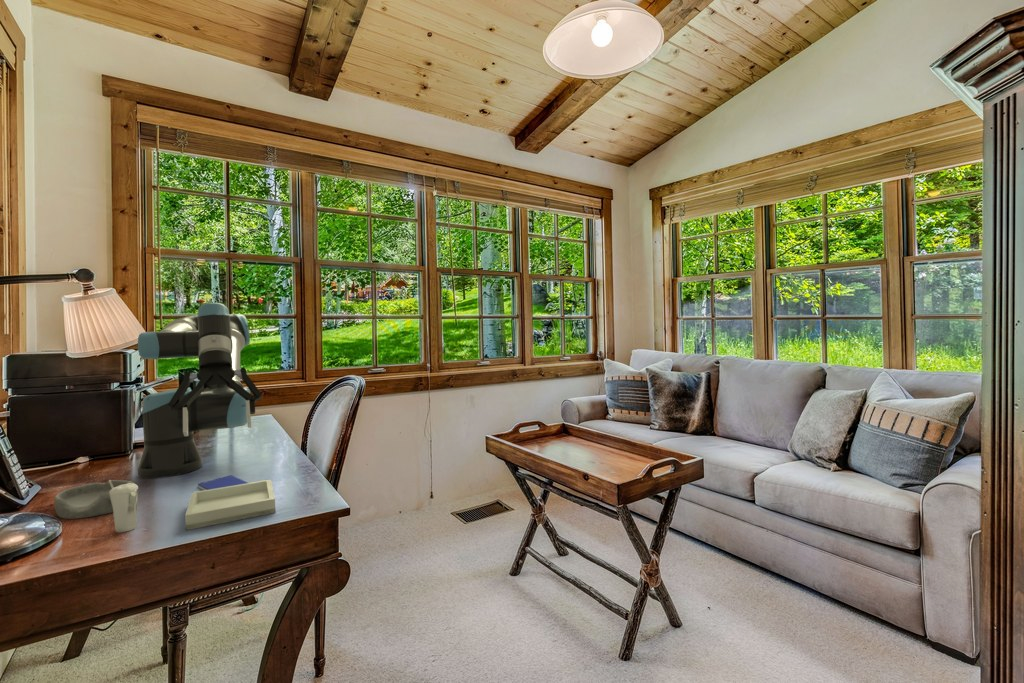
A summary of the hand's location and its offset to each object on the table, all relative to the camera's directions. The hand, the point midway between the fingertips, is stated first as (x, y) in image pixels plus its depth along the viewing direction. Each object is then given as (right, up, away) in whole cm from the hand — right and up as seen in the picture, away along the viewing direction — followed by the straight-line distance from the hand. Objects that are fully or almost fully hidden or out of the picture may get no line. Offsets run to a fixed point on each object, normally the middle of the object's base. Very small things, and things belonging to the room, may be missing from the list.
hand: (218, 430), depth 119 cm
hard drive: (0, -16, +2) cm, 16 cm away
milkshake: (-5, -16, -22) cm, 28 cm away
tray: (+11, -15, -13) cm, 23 cm away
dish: (-22, -16, -10) cm, 29 cm away
